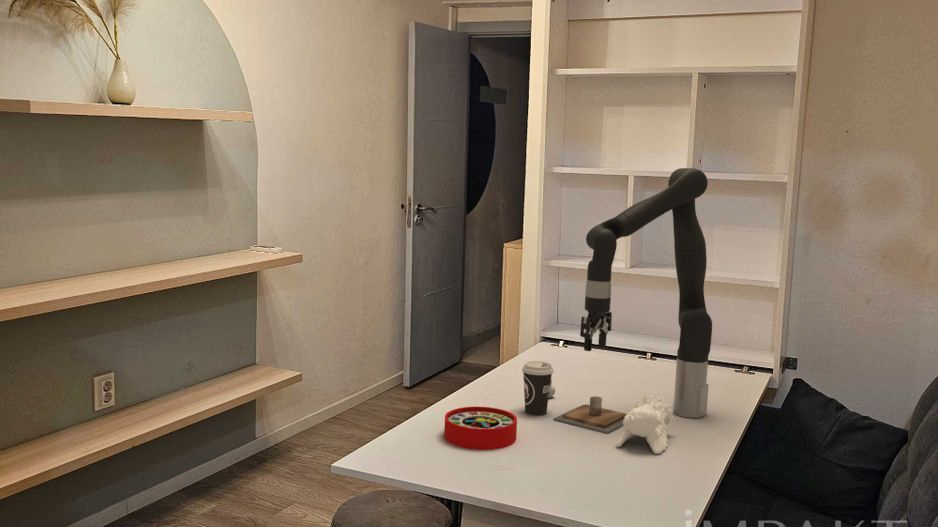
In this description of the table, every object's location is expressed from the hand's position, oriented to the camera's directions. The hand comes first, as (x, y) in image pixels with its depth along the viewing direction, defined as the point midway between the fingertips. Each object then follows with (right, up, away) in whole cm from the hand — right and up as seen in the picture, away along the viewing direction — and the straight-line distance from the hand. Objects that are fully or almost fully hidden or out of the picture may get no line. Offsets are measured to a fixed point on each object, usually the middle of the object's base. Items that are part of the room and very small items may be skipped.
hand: (595, 348), depth 259 cm
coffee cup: (-17, -20, +5) cm, 27 cm away
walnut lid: (0, -21, 0) cm, 21 cm away
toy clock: (-35, -23, -19) cm, 46 cm away
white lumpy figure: (+11, -25, -18) cm, 33 cm away
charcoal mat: (0, -21, 0) cm, 21 cm away
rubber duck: (-13, -18, +21) cm, 30 cm away
